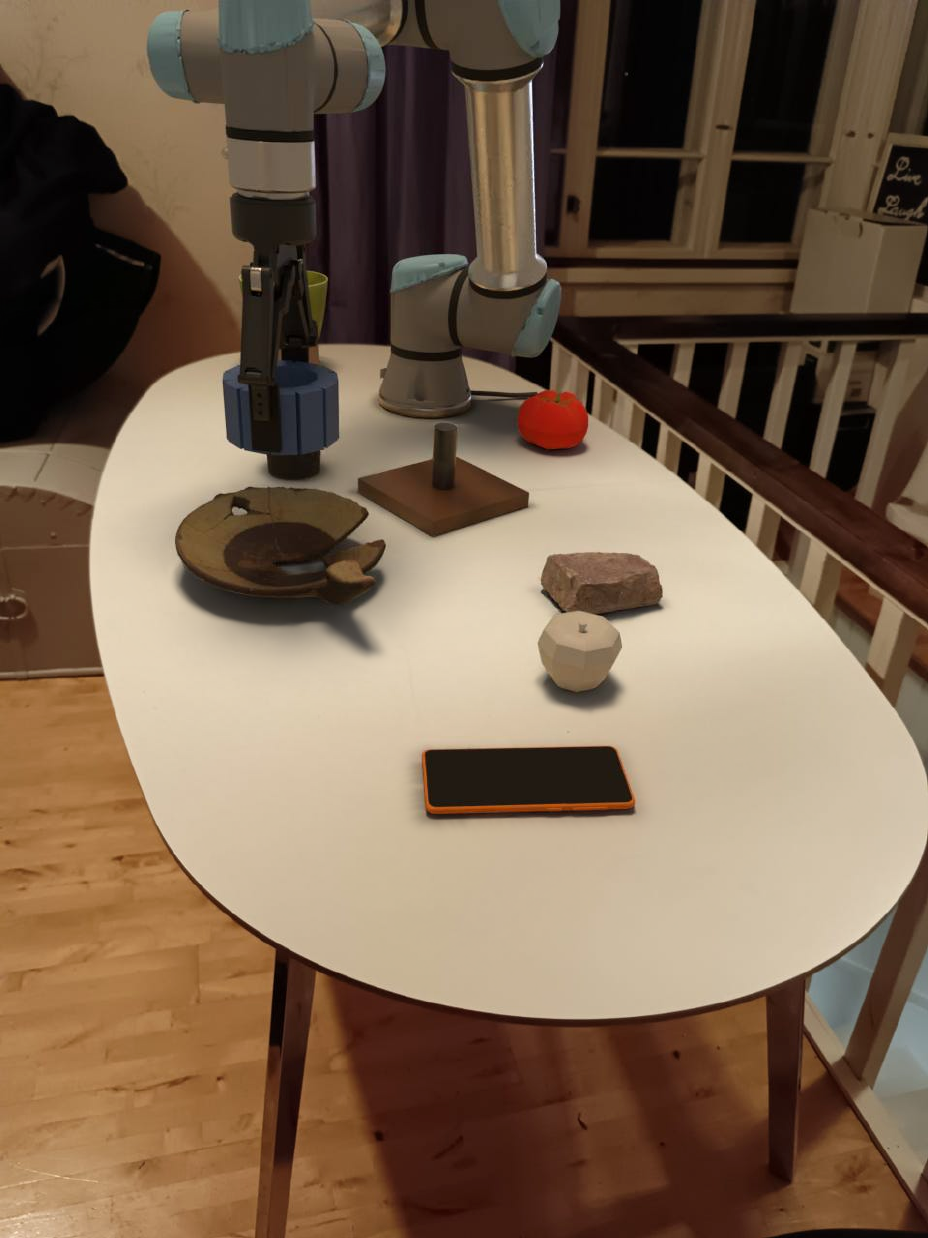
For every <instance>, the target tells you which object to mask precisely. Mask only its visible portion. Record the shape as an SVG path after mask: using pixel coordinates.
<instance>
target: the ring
mask: <svg viewBox="0 0 928 1238" xmlns="http://www.w3.org/2000/svg"><path fill="white" fill-rule="evenodd" d="M255 370H260V371H261V369H259V368H256V369H255ZM239 374H240V364H237V365H235V366H233V367H230V368H228V369H226V370H224V372H223V373H222V380H221V381H222V392H223V393H222V395H223V406H224V407H223V408H224V418H225V419H224V420H225V432H226V433H225V434H226V440H227V442H229V444H231V445H233V446H235V447H236V448H238V449H240V450H243V451H247V452H250V453H257V454H261V455H266V456H267V454H268V453H270V452H265V451H253V450H252V438H251V422H250V406H249V390H248V384H239V383H238V378H237V376H238V375H239ZM276 383H279V386H280V408H281V431H282V451H281V453H276V452H271V455H297V454H298V453H297V452H299V453H300V454H306V453H311V452H315V451H319V450H320V451H323V450H325V449H328V448H330V447H331V446H332V445H333V444H335V443H337V442H338V441H339V439H340V395H339V394H340V392H339V390H340V389H339V388H340V387H339V375H338V372H336V371H335V370H333V369H331V368H328V367H326V366H324V365H319V366H318V364H313V363H307V362H301V361H296V362H294V363H293V361H292V360H278V362H277V371H276Z"/></svg>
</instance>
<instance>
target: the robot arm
mask: <svg viewBox="0 0 928 1238" xmlns="http://www.w3.org/2000/svg"><path fill="white" fill-rule="evenodd" d="M217 1H218V7H216V8H212V9H210V10H205V11H190V9H184V8H183V9H181V10H179V11H178V10H176V11H175V10H174V11H173V10H172V11H170V10H169V11H164V12H162V13H160V14H158V15H156V17H155V18H154V19H153V21H152V23H151V24H150V26H149V29H148V32H147V38H146V57H147V58H148V64H149V70H150V74H151V75H152V78H153V80H154V82H155V83H156V85H157V87H159V89H160V90H161V91H162V92H163V93H164V94H165V95H167V96H169V97H170V98H173V99H178V100H182V101H183V100H184V101H190V102H192V103H194V104H196V105H197V104H198V105H199V104H201V103H205V104H215V105H216V104H217V105H224V113H225V114H224V115H225V135H226V146H225V147H223V148H222V150H221V151H220V153H221V157H222V158H223V159H224V160H225V161H227V162H228V164H227V168H228V169H227V170H228V183H229V185H230V186H231V187H232V188H233V189H235V190H236V192H233V193H232V194H231V196H230V197H229V206H230V207H229V208H230V210H229V211H230V224H231V234H232V235H233V237H234V238H235V239H236V240H238V241H241V242H242V243H249V244H250V245H252V247H253V254H252V255H253V256H252V261H251V262H249V265H245V264H244V265H243V264H242V266H241V270H240V275H242V289H243V298H242V305H241V329H240V352H239V353H240V354H239V355H240V357H239V365H240V374H239V375H238V376H237V378H238V383H239V384H248V390H249V406H250V422H251V438H252V450H253V451H265V452H276V453H281V451H282V431H281V408H280V386H279V383H276V371H277V362H278V353H279V344H280V335H281V332H282V336H283V340H284V344H285V345H289V347H284V346H283V347H282V348H281V358H282V360H292V361H293V363H294V362H296V361H301V362H307V363H309V348H305V346H309V347H316V345H317V336H312V335H313V332H314V327H313V320H312V312H311V304H310V295H309V287H308V278H307V271H308V270H307V254H306V253H307V246H306V244H309V243H311V242H313V241H315V239H316V237H317V201H316V199H314V197H313V196H312V195H310V192H312V191H314V190H315V189H316V187H317V178H316V177H317V175H316V147H315V131H314V127H315V126H314V124H315V123H314V122H315V121H314V120H315V119H314V115H327V114H329V115H330V114H337V115H338V114H341V115H344V116H348V115H351V114H352V113H355V112H359V111H363V110H365V109H367V108H369V107H370V106H372V104H374V102H375V101H376V100H377V99H378V98H379V96H380V94H381V92H382V90H383V87H384V84H385V79H386V71H387V69H386V60H385V55H384V52H383V49H382V47H385V46H403V47H412V48H413V47H414V48H420V49H421V48H423V49H432V50H442V51H449V57H450V67H451V70H450V71H451V74H452V75H453V77H454V78H456V79H457V80H458V81H459V82H460V83H462V85H464V94H465V95H464V97H465V109H466V120H467V121H466V123H467V135H468V149H469V163H470V174H471V176H470V177H471V191H472V203H473V215H474V218H473V219H474V229H475V230H474V231H475V242H476V245H475V246H476V257H475V258H474V260H472V262H471V263H470V264H469V262H468V258H467V257H466V256H464V255H461V254H455V253H454V254H453V253H444V254H443V253H442V254H439V253H438V254H426V255H418V256H413V257H407V258H403V259H401V260H399V261H398V262H396V264H395V265H394V266H393V268H392V272H391V273H392V274H391V282H390V283H391V284H390V289H389V293H390V355H389V359H388V362H387V365H386V367H384V368H380V369H379V379H382V382H381V383H380V385H379V389H378V403H379V405H380V406H381V407H382V408H383V409H386V410H387V411H389V412H392V413H395V414H398V415H401V416H408V417H414V418H430V419H432V418H433V419H434V418H446V417H452V416H457V415H460V414H462V413H465V412H466V411H468V410H469V409H470V408H471V405H472V396H476V397H494V398H495V397H496V398H511V399H521V398H522V399H524V398H529V397H534V396H535V395H536V394H538V393H539V392H538V391H527V392H507V391H506V392H505V391H495V390H494V391H492V390H473V389H471V388H470V385H469V382H468V381H469V380H468V376H467V372H466V368H465V365H464V360H463V349H464V348H468V349H473V350H480V351H487V352H493V353H497V354H504V355H510V356H511V357H513V358H514V357H516V356H517V357H522V358H535V357H538V356H540V355H541V354H542V353H543V352H544V351H545V349H546V348H547V346H548V345H549V342H550V340H551V338H552V335H553V333H554V330H555V327H556V324H557V321H558V317H559V313H560V309H561V301H562V286H561V284H560V282H559V281H557V280H555V279H554V278H548V266H547V262H546V260H545V259H544V257H542V256H541V254H539V253H537V235H536V234H537V233H536V232H537V231H536V229H537V227H536V193H535V192H536V190H535V152H534V151H535V150H534V147H535V146H534V119H533V118H534V115H533V114H534V113H533V111H534V109H533V107H534V106H533V79H534V78H535V77H536V75H537V74H538V73H539V72H540V71H541V69H542V68H543V66H544V56H547V55H549V54H550V53H551V51H553V49H554V47H555V45H556V41H557V38H558V35H559V30H560V29H559V20H560V19H561V0H217ZM309 335H311V336H309ZM256 368H259V369H261V371H260V370H255V369H256Z"/></svg>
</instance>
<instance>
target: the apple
mask: <svg viewBox="0 0 928 1238" xmlns="http://www.w3.org/2000/svg"><path fill="white" fill-rule="evenodd" d="M537 647H538V652H539V656H540V657H539V658H540V661H541V663H542V665H543V667H544V669H545V671H546V673H547V675H549V677H550V678H551V680H552V681H553V682H554V684H556V686H557V687H559V688H560V689H564V690H567V691H571V692H574V693H579V692H584V691H585V692H586V691H590V690H593V689H595V688H597V687H599V685H600V684H601V683H602V682H603V681H604V680H606V678H607V676H608V674H609V673H610V671H611V669H612V668H613V665H614V663H615V662H616V660H617V658H618V656H619V654H620V652H621V650H622V648H623V644H622V637H621V633H620V631H619V630H618V629H617V628H616V626H614V625H613V624H612V623H611V622H610V621H609V620H608V619H607V618H606V617H605V616H601V615H598V614H596V615H594V614H590V613H586V612H582V611H574V612H568V613H567V612H563V613H557V614H554V615H552V616H551V618H550V620H549V621H548V622H547V624H546V625H545V627H544V628H543V630H542V632H541V634H540V637H539V638H538V641H537Z"/></svg>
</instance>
